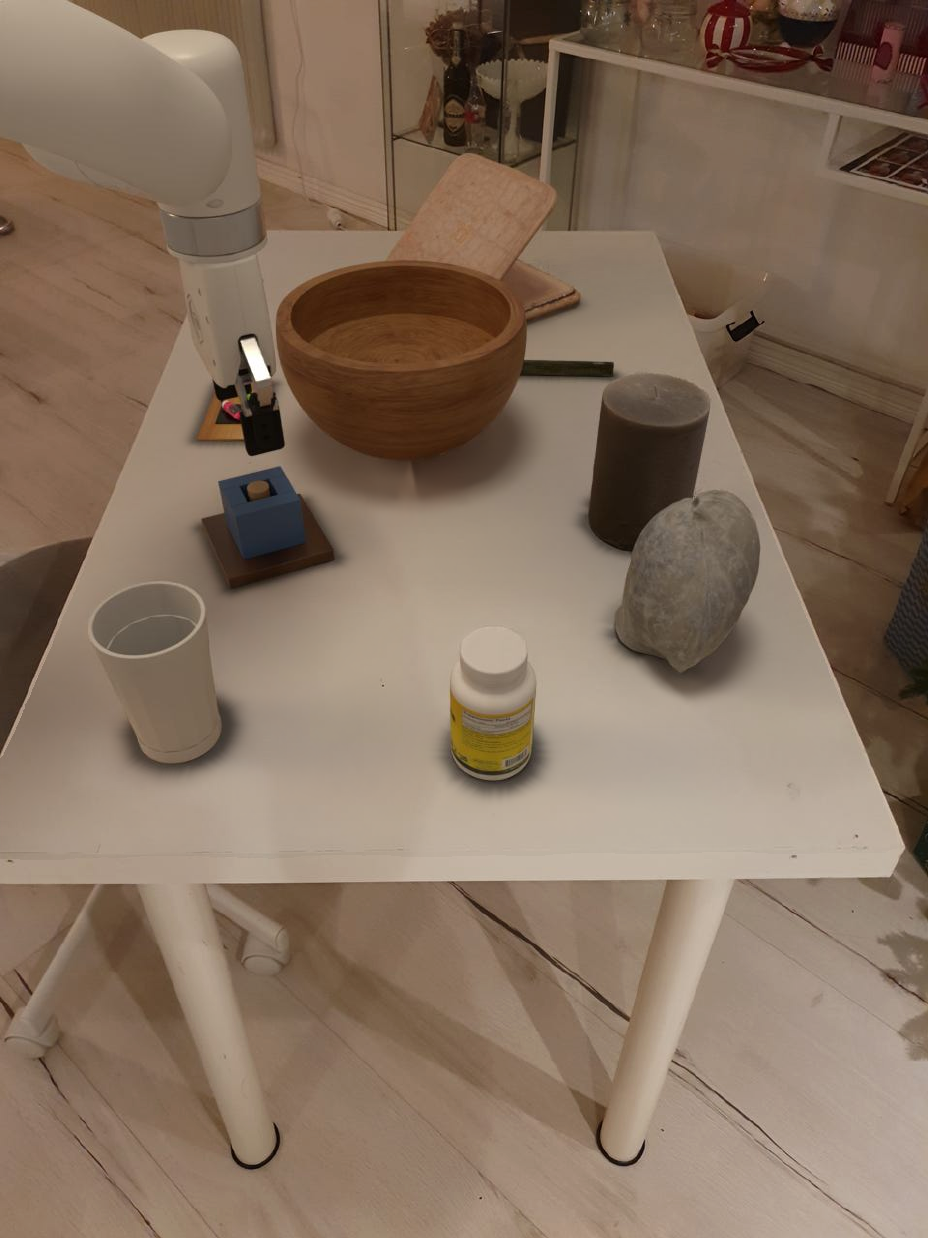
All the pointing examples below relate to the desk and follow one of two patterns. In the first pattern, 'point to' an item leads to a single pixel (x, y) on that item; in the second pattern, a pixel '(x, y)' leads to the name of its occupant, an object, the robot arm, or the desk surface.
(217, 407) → the board
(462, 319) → the bowl
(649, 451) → the pillar candle
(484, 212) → the case
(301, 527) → the collar block
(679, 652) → the decorative stone
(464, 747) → the pill bottle
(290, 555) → the dowel stand
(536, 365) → the rod
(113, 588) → the desk surface
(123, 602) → the cup
